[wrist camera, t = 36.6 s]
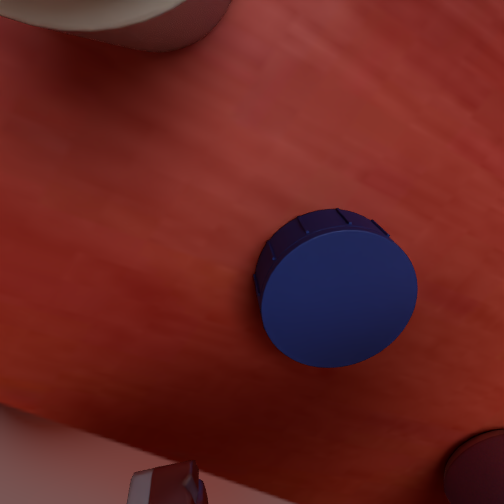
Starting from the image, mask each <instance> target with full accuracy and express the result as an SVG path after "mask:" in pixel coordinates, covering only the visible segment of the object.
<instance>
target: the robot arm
mask: <svg viewBox="0 0 504 504" xmlns="http://www.w3.org/2000/svg"><path fill="white" fill-rule="evenodd" d="M198 475H199V469H198V466H197V464H196V461H195V460H190V461H185V462H180V463H175V464H171V465H166V466H161V467H156V468H152V469H148V470H143V471H138V472H135V473H134V475H133V476H132V479H131V483H130V488H129V494H128V500H127V504H208V498H207V493H206V489H205V486H204V483H203V481H202V480H200V479H199V476H198Z"/></svg>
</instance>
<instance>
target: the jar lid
mask: <svg viewBox="0 0 504 504" xmlns="http://www.w3.org/2000/svg"><path fill="white" fill-rule="evenodd" d="M389 236H390V235H389V234H388V233H387V232H386V231H384V230H383V229H382V228H381V227H380V226H379V225H378V224H377V223H376V222H375V221H374V220H371V221H370V220H369V219H367V218H365V217H364V216H361V215H359V214H357V213H354V212H350V211H346V210H340V209H339V208H336V209H327V210H319V211H315V212H311V213H307V214H305V215H302V216H297V218H296V219H294V220H292V221H290V222H289V223H287V224H286V225H285V226H283V227H282V228H281V229H280V230H278V231H277V232H276V233H275V234H274V235H273V236H272V238H271V239H270V240H269V241H267V242H266V243H267V244H266V246H265V247H264V249H263V251H262V253H261V255H260V257H259V260H258V263H257V266H256V272H255V274H253V277H254V282H255V288H256V294H257V298H258V303H259V308H260V312H261V317H262V321H263V326H264V329H265V330H266V333H267V335H268V337H269V338H270V340H271V341H272V343H273V344H274V345H275V346H276V347H277V348H278V349H279V350H280V351H281V352H282V353H284V354H285V355H286V356H288V357H290V358H291V359H293V360H295V361H297V362H300V363H302V364H306V365H309V366H314V367H323V368H334V367H343V366H348V365H352V364H356V363H358V362H361V361H364V360H366V359H368V358H370V357H372V356H374V355H376V354H377V353H379V352H381V351H382V350H383V349H385V348H386V347H387V346H389V345H390V344H391V343H392V342H393V341H394V340H395V339H396V338H397V337H398V336H399V335H400V333H401V332H402V331H403V329H404V328H405V326H406V325H407V323H408V322H409V320H410V318H411V316H412V313H413V310H414V308H415V304H416V299H417V278H416V274H415V270H414V268H413V266H412V263H411V261H410V260H409V258H408V257H407V255H406V254H405V253H404V251H403V250H402V249H401V248H400V247H399V246H398V245H397V244H396V243H395V242H394V241H393V240H391V239H390V238H389Z"/></svg>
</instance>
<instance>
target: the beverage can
mask: <svg viewBox="0 0 504 504" xmlns="http://www.w3.org/2000/svg"><path fill="white" fill-rule="evenodd" d="M444 492H445V495H446V497H447V499H448V500H449V502H450V504H504V430H494V431H490V432H486V433H483V434H480V435H478V436H476V437H474V438H472V439H470V440H468V441H467V442H465V443H464V444H462V445H461V446H460V447H459V448H458V449H457V450H456V451H455V452H454V453H453V454H452V455H451V457H450V458H449V460H448V462H447V464H446V467H445V471H444Z"/></svg>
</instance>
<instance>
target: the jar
mask: <svg viewBox="0 0 504 504" xmlns="http://www.w3.org/2000/svg"><path fill="white" fill-rule="evenodd" d="M231 1H232V0H0V16H3V17H6V18H9V19H12V20H16V21H19V22H22V23H25V24H29V25H32V26H36V27H40V28H44V29H49V30H53V31H57V32H62V33H66V34H70V35H75V36H79V37H83V38H88V39H92V40H96V41H101V42H105V43H109V44H114V45H118V46H122V47H127V48H131V49H135V50H140V51H146V52H167V51H173V50H177V49H181V48H184V47H186V46H188V45H191V44H193V43H195V42H196V41H198V40H199V39H201V38H203V37H204V36H205V35H206V34H207V33H209V32H210V31H211V30H212V29H213V28H214V27H215V26H216V25H217V23H218V22H219V21H220V20H221V18H222V17H223V15H224V14H225V12H226V11H227V9H228V7H229V5H230V3H231Z"/></svg>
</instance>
